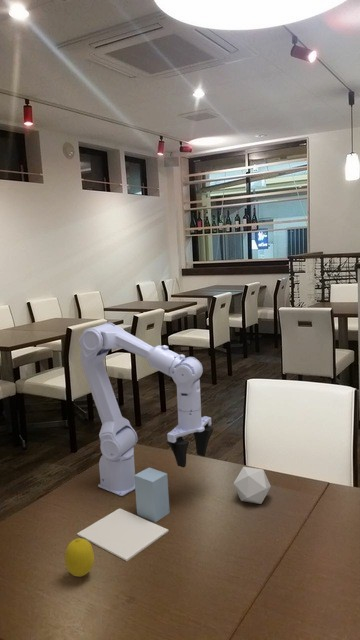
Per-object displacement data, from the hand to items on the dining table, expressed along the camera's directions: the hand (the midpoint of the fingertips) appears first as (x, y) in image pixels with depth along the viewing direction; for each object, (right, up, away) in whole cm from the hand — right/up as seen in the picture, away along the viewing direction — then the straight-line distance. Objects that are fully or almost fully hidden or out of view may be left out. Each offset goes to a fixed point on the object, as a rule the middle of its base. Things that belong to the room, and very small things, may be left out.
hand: (191, 460), depth 122 cm
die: (+15, -10, 0) cm, 18 cm away
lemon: (-22, -16, -26) cm, 37 cm away
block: (-9, -12, -4) cm, 15 cm away
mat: (-16, -13, -12) cm, 24 cm away
